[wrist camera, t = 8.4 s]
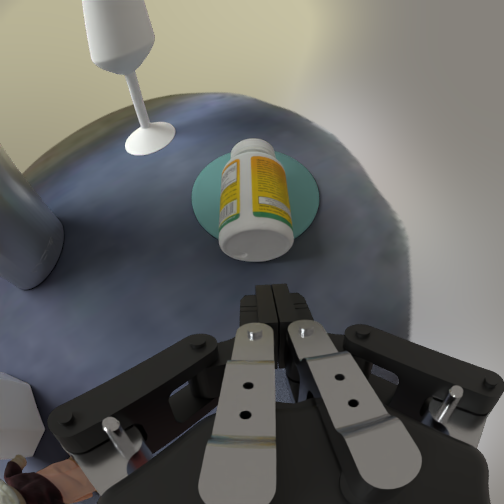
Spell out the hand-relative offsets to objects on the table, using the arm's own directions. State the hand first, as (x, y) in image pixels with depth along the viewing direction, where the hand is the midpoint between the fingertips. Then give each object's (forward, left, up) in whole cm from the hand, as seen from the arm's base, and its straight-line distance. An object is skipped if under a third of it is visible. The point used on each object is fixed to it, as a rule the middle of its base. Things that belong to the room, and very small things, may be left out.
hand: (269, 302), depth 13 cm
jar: (-17, -20, -7) cm, 27 cm away
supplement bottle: (-3, +4, -4) cm, 7 cm away
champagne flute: (-21, +15, -7) cm, 27 cm away
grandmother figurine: (-7, -19, -7) cm, 21 cm away
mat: (-6, +11, -7) cm, 15 cm away
